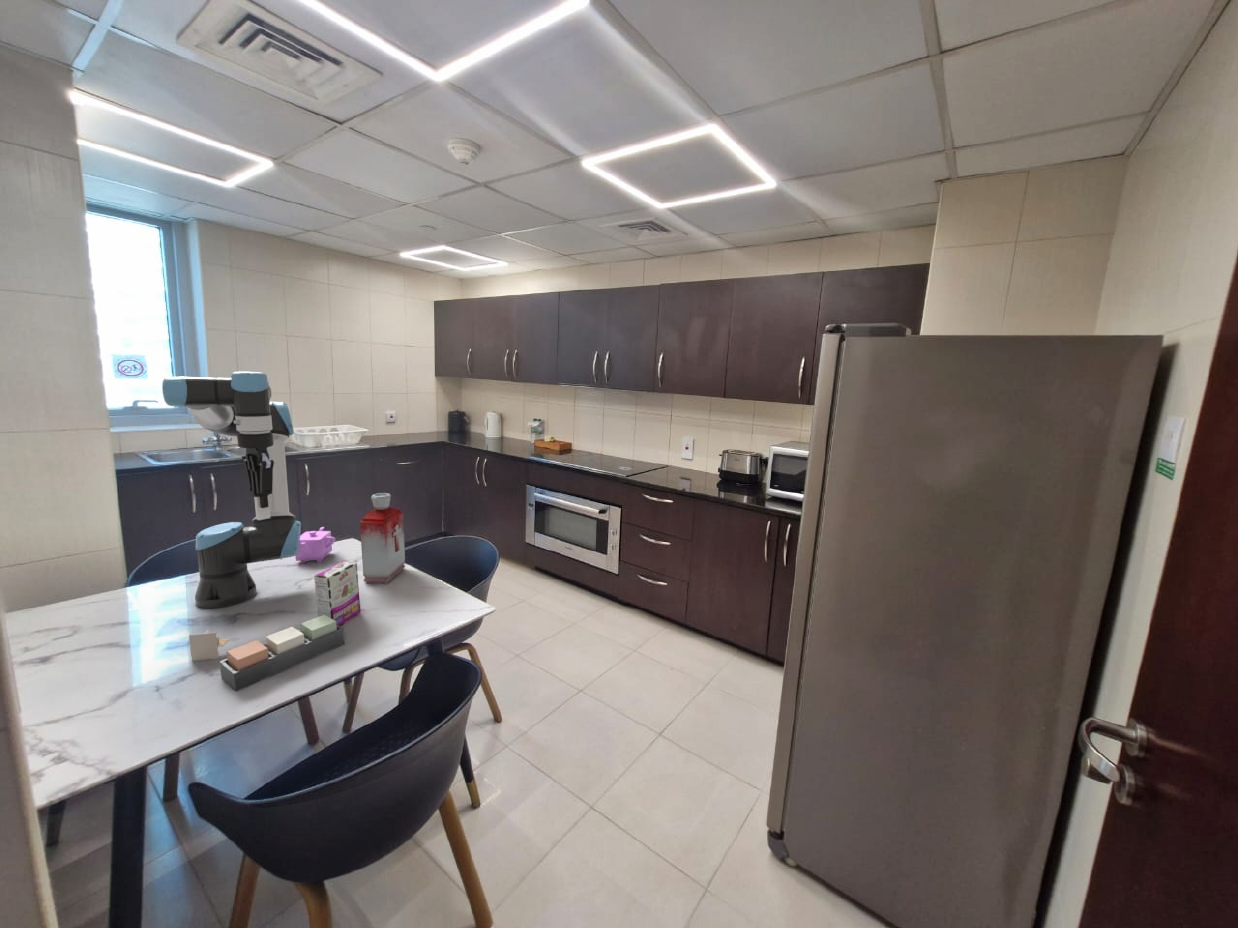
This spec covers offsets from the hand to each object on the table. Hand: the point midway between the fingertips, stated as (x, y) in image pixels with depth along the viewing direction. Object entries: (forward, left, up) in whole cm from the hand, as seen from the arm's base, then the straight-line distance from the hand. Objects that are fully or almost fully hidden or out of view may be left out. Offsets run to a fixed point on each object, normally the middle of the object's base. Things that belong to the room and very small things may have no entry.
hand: (263, 518), depth 131 cm
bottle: (-9, +39, -33) cm, 52 cm away
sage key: (+19, +3, -31) cm, 36 cm away
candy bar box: (+10, +13, -33) cm, 36 cm away
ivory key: (+19, -5, -31) cm, 36 cm away
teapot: (-44, +32, -33) cm, 63 cm away
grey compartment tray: (+19, -5, -32) cm, 38 cm away
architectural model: (+2, -16, -33) cm, 37 cm away
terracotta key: (+19, -13, -31) cm, 38 cm away
